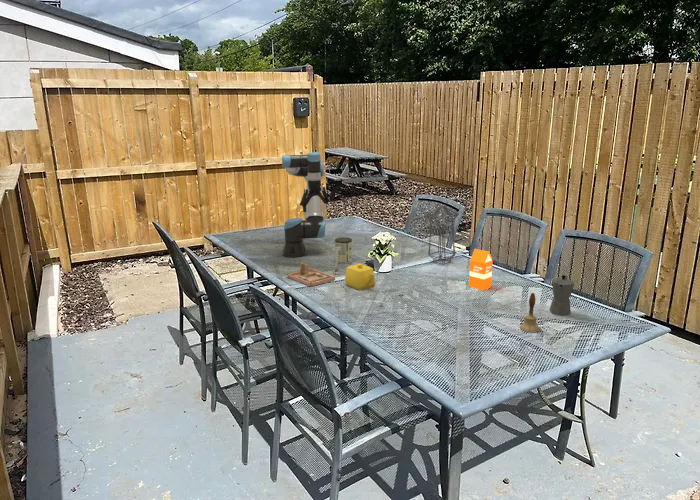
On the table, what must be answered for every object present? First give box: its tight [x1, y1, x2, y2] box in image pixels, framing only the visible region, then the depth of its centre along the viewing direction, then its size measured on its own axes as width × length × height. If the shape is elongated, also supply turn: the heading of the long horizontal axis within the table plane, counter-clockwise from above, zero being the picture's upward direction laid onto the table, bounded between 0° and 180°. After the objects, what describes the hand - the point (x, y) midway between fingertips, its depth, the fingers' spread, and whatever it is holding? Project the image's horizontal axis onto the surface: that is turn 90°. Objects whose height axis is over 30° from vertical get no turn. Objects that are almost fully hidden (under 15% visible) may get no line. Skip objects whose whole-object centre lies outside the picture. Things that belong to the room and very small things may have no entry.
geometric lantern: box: [425, 205, 460, 265], centre depth 323 cm, size 16×16×35 cm
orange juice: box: [468, 248, 493, 291], centre depth 279 cm, size 8×9×20 cm
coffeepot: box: [549, 274, 575, 317], centre depth 245 cm, size 15×9×18 cm, turn 151°
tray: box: [287, 267, 336, 288], centre depth 296 cm, size 22×17×2 cm
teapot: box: [344, 263, 376, 291], centre depth 284 cm, size 20×12×12 cm, turn 37°
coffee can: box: [334, 237, 353, 264], centre depth 328 cm, size 10×10×14 cm
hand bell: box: [519, 292, 541, 333], centre depth 227 cm, size 8×8×16 cm
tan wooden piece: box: [299, 262, 329, 283], centre depth 296 cm, size 17×12×7 cm
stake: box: [331, 246, 341, 275], centre depth 304 cm, size 4×6×15 cm
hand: (315, 215), depth 313 cm, fingers open, 13 cm apart
